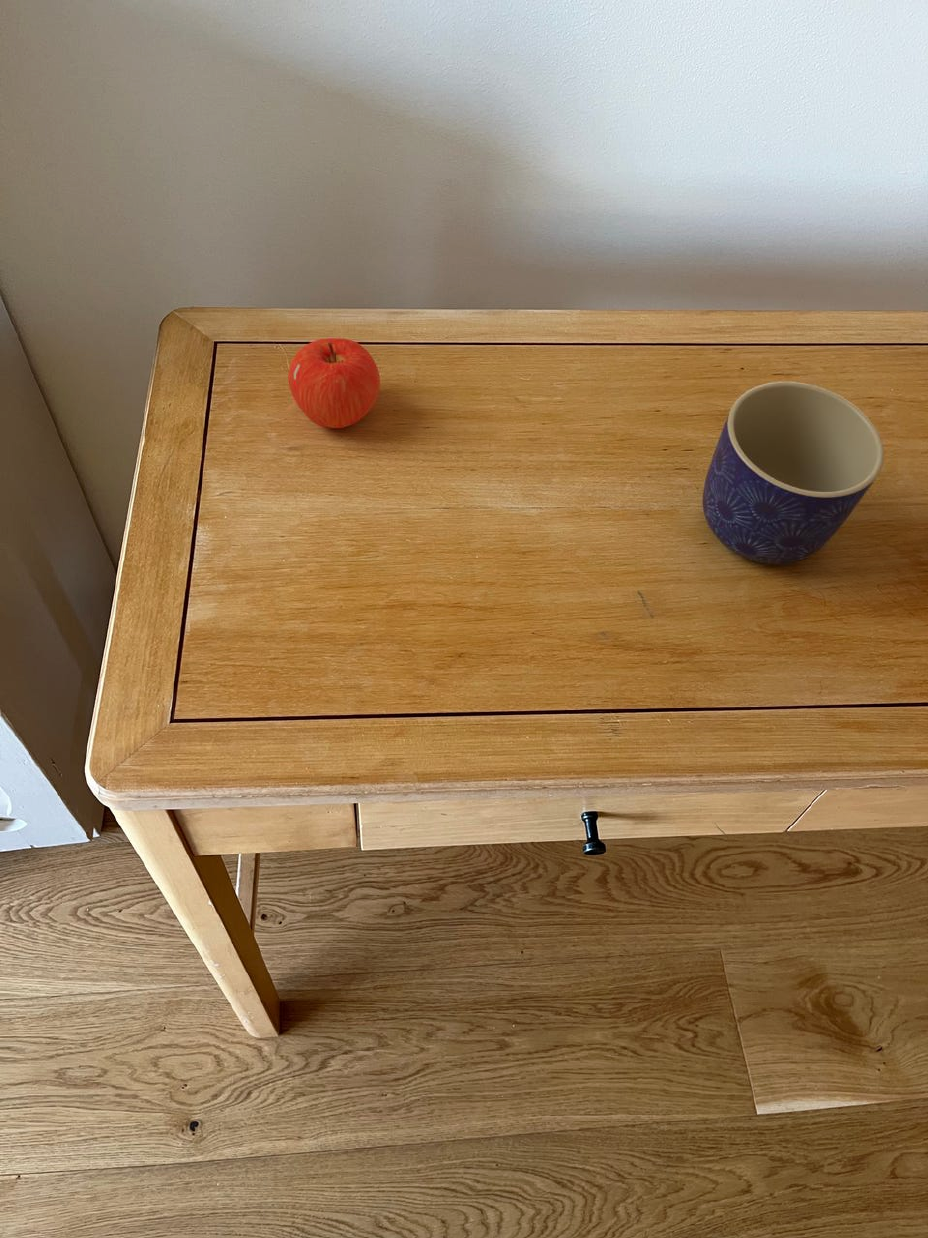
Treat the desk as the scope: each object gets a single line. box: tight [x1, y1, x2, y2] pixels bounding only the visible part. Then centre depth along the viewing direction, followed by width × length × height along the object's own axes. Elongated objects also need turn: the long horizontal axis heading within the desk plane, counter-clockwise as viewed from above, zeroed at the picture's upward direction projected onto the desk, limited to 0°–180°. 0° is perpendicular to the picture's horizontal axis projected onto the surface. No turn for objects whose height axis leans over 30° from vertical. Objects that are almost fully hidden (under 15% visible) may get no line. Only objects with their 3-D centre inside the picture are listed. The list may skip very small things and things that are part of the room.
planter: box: [702, 381, 885, 565], centre depth 77 cm, size 12×12×11 cm
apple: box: [287, 337, 381, 429], centre depth 82 cm, size 8×8×8 cm
